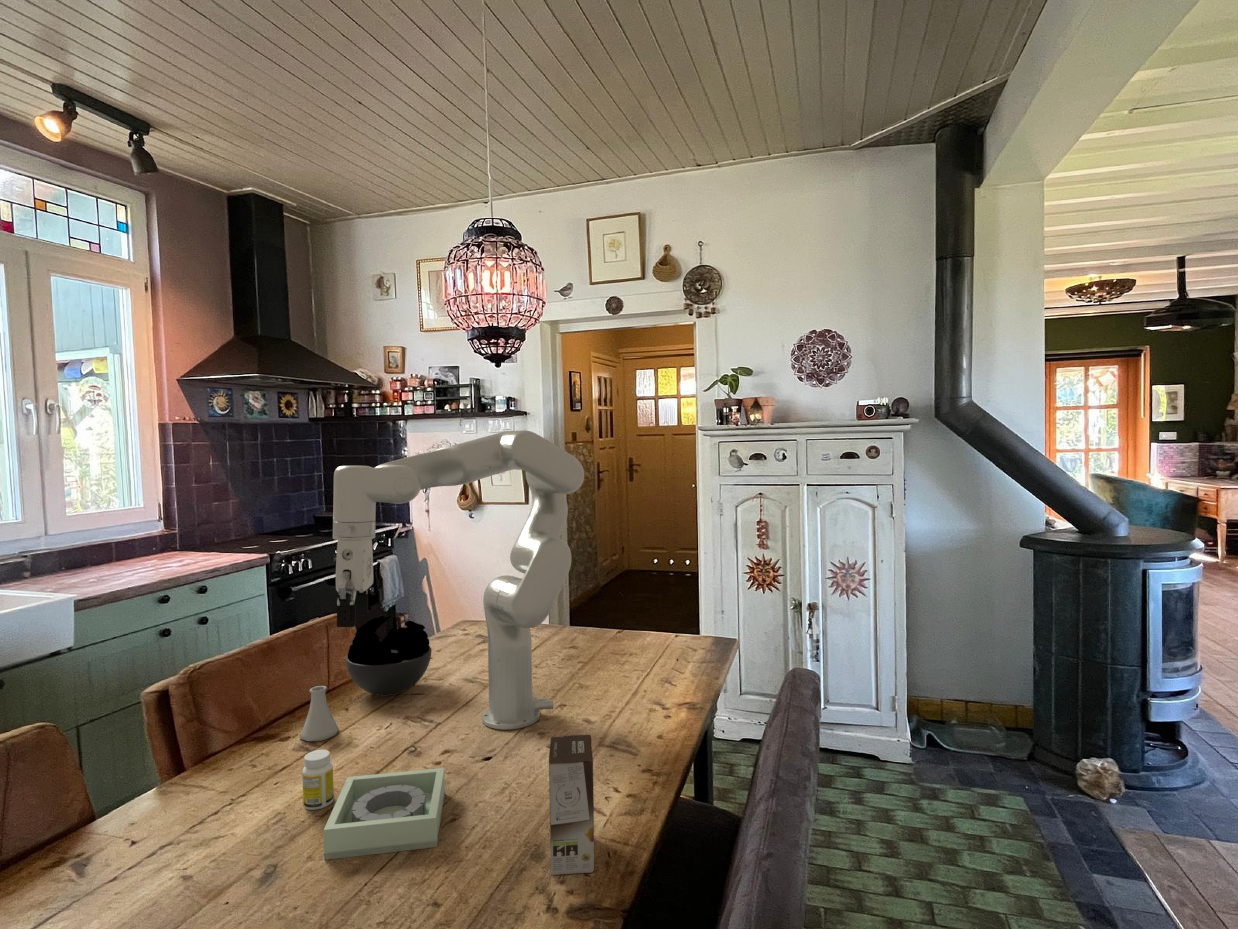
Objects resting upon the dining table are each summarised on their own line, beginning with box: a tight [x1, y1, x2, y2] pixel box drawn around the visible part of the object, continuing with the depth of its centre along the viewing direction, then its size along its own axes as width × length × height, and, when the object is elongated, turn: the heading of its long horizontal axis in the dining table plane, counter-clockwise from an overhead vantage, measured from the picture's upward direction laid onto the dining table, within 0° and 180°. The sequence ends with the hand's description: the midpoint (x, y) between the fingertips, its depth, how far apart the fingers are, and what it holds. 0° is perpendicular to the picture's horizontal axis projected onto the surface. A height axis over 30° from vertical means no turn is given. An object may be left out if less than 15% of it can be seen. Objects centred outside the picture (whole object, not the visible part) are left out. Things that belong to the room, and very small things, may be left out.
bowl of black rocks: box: [345, 615, 432, 697], centre depth 166 cm, size 20×20×19 cm
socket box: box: [323, 767, 446, 861], centre depth 108 cm, size 16×16×4 cm
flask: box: [299, 685, 339, 742], centre depth 142 cm, size 7×7×10 cm
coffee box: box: [548, 734, 595, 876], centre depth 99 cm, size 9×6×16 cm
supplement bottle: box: [301, 749, 335, 811], centre depth 115 cm, size 5×5×8 cm
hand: (352, 620), depth 128 cm, fingers open, 9 cm apart
